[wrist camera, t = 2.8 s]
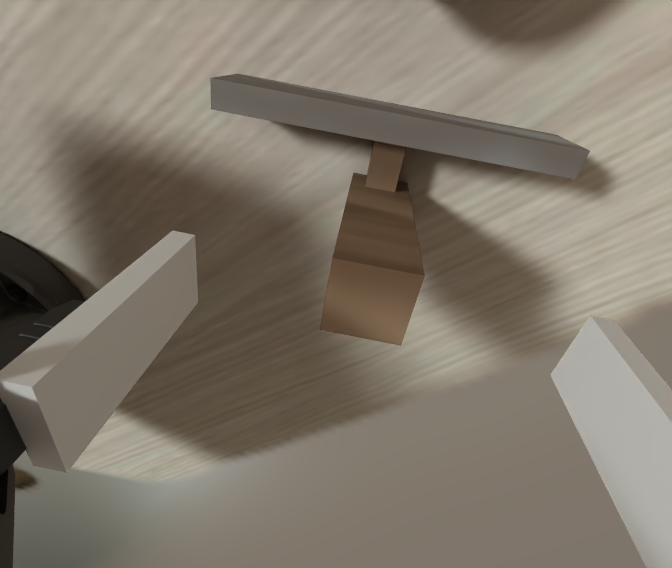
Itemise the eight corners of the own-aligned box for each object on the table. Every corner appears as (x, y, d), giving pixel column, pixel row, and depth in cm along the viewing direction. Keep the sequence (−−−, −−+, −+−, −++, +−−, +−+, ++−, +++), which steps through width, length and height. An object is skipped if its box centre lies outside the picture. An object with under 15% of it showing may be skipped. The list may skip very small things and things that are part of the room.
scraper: (502, 253, 22) (577, 379, 14) (236, 202, 22) (144, 295, 14) (556, 135, 18) (704, 205, 10) (238, 73, 18) (115, 92, 10)
